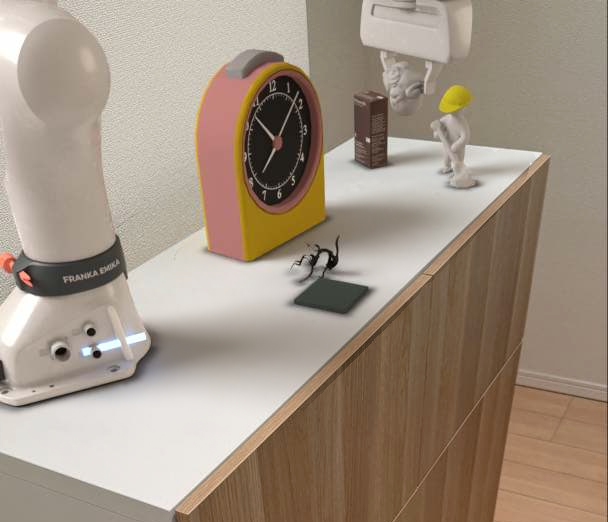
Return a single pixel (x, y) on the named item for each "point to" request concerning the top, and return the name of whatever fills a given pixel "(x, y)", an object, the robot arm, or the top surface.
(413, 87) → the white rounded lump
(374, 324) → the top surface
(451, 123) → the figurine
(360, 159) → the box
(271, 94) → the alarm clock
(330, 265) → the creature
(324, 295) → the coaster pad
